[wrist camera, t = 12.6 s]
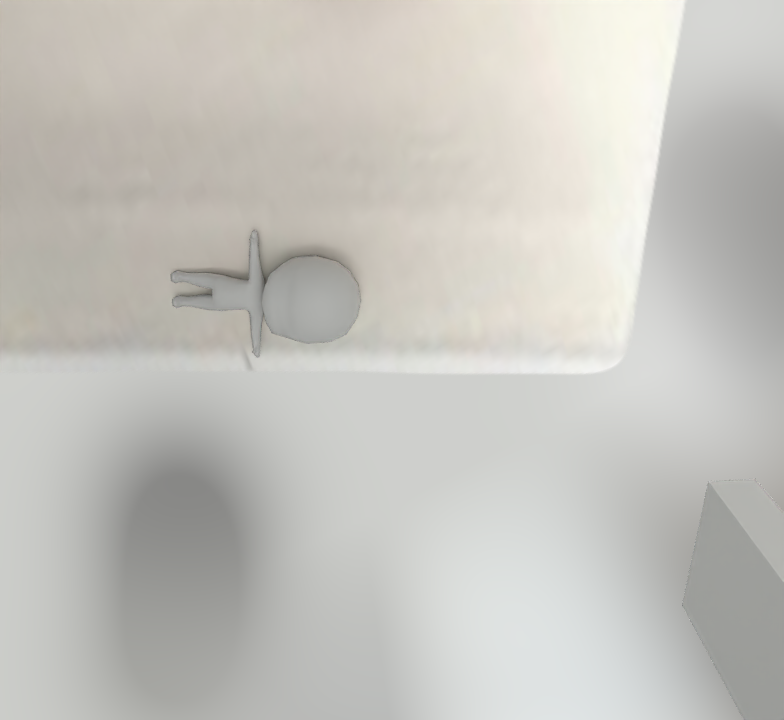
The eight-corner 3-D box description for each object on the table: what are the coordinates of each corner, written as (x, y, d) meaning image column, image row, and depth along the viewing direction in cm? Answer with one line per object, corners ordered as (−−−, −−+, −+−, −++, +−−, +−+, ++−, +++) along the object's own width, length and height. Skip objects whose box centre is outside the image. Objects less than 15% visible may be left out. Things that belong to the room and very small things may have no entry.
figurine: (151, 227, 38) (344, 241, 35) (200, 220, 43) (373, 232, 40) (160, 358, 41) (342, 381, 38) (206, 337, 46) (369, 356, 43)
